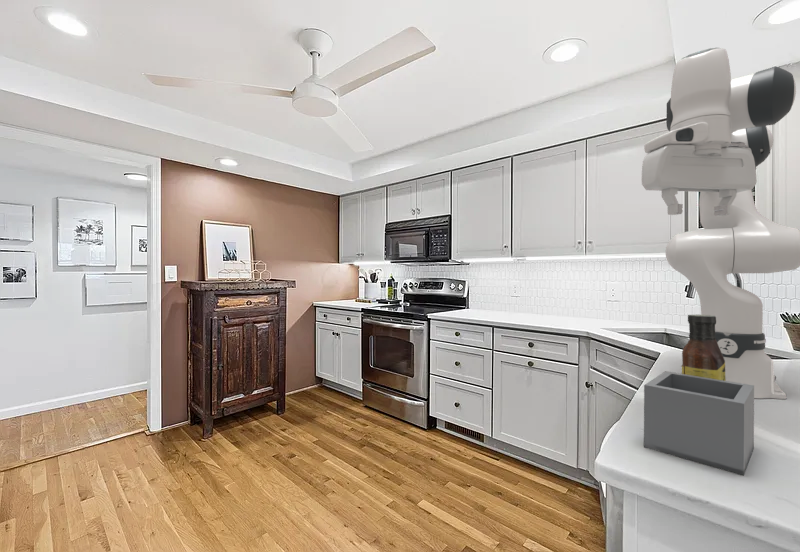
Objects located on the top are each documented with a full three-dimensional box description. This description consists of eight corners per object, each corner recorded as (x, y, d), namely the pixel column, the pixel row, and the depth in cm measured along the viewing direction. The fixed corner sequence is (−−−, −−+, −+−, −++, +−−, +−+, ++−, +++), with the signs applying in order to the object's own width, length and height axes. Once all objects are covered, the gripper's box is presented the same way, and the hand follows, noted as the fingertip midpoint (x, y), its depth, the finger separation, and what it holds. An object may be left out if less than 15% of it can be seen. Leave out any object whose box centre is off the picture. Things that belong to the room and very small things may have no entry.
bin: (665, 427, 68) (665, 371, 67) (753, 449, 59) (754, 385, 59) (643, 448, 59) (644, 384, 59) (743, 478, 51) (744, 403, 51)
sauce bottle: (735, 433, 65) (735, 317, 65) (693, 429, 66) (694, 316, 66) (711, 418, 72) (712, 313, 71) (674, 416, 73) (675, 312, 73)
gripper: (733, 147, 74) (733, 218, 74) (636, 144, 72) (635, 216, 72) (768, 136, 68) (767, 213, 68) (662, 131, 66) (661, 211, 66)
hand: (698, 215), depth 70 cm, fingers open, 8 cm apart
